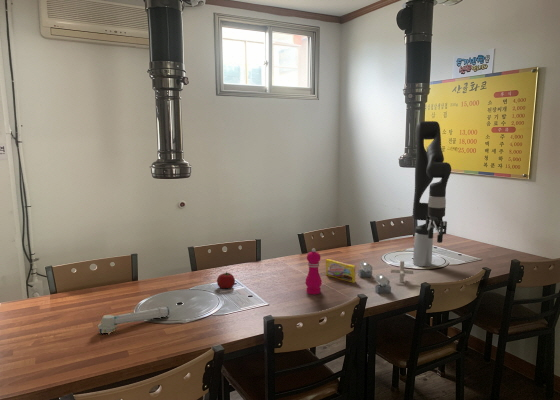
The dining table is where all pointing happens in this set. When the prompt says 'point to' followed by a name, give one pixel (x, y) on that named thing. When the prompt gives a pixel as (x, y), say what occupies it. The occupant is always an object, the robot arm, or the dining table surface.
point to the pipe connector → (401, 271)
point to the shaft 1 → (365, 270)
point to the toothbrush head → (130, 318)
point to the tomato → (226, 280)
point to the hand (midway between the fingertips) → (435, 240)
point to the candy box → (340, 270)
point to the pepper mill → (313, 273)
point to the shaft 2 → (382, 285)
